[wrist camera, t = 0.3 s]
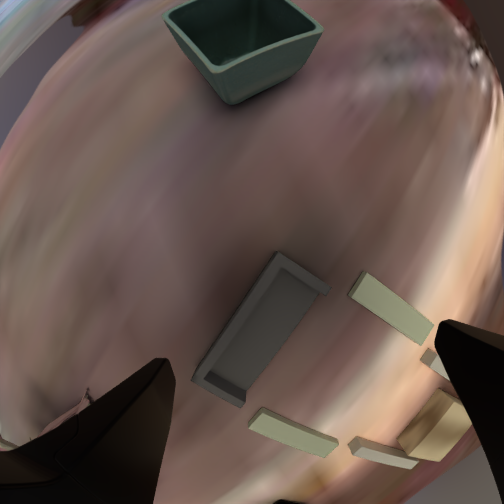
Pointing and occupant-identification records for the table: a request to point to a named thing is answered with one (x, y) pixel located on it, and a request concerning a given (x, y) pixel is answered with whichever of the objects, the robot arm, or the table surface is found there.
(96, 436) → the robot arm
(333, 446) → the bars
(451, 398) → the maple block
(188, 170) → the table surface
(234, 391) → the tray
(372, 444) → the twin beige slats
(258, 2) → the flower pot
